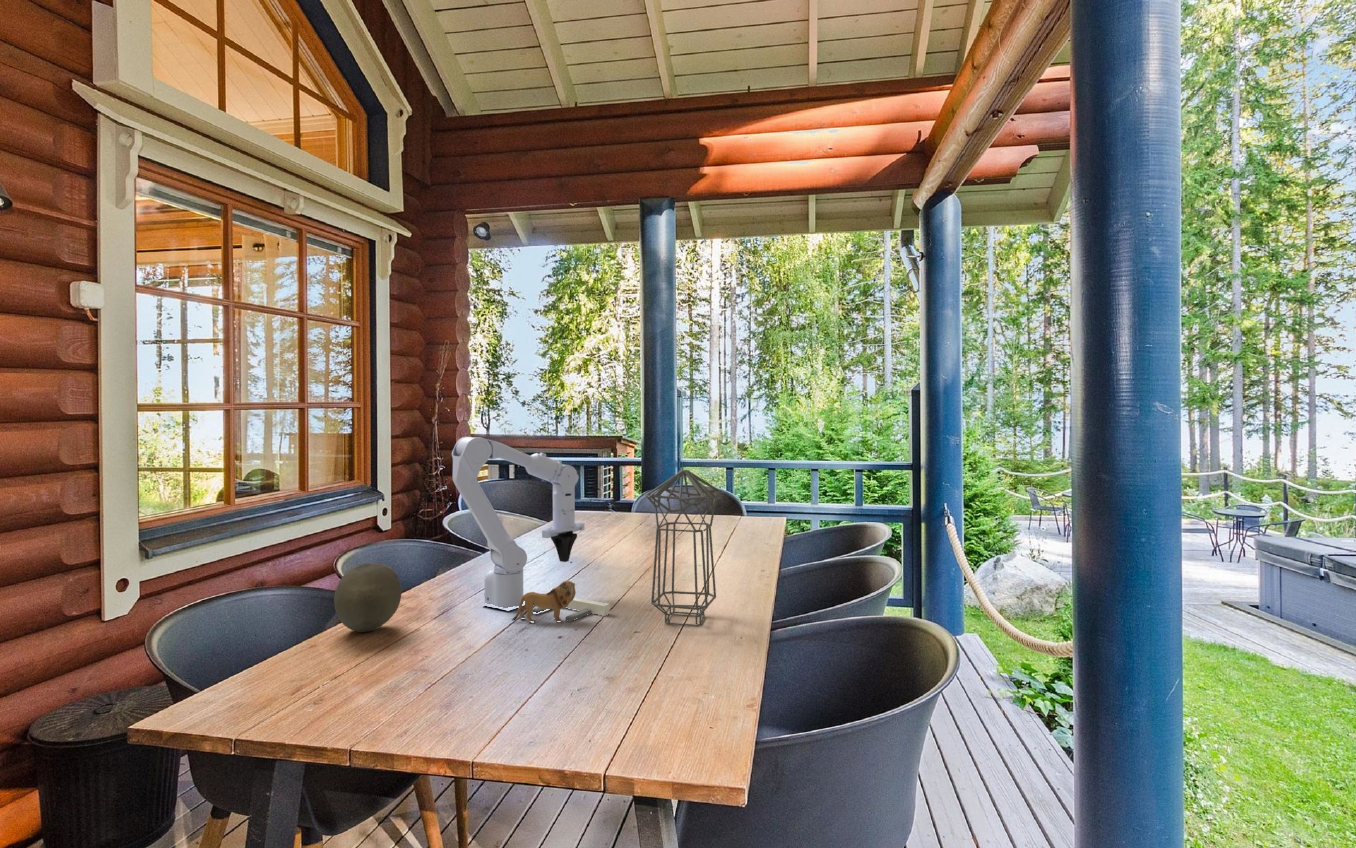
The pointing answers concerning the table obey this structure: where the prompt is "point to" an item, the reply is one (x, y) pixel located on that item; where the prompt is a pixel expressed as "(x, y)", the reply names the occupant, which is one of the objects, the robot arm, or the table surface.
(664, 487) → the geometric lantern
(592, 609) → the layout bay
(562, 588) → the lion figurine
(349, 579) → the cantaloupe
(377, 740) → the table surface
